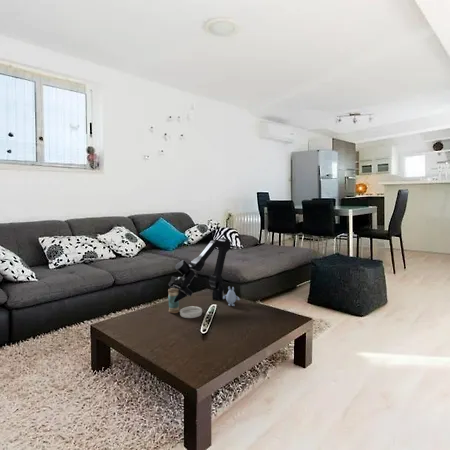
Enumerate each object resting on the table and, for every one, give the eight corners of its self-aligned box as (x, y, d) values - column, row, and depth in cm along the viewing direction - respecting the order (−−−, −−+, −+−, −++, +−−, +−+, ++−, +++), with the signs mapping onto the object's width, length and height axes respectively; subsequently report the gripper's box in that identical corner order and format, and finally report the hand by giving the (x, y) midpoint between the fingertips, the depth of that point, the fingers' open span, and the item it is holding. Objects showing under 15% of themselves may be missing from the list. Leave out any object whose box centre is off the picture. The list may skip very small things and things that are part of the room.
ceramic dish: (203, 310, 203) (203, 306, 203) (199, 318, 191) (199, 314, 190) (183, 309, 205) (183, 306, 204) (177, 317, 193) (177, 313, 192)
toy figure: (241, 304, 211) (240, 285, 210) (238, 308, 206) (238, 288, 204) (224, 303, 215) (224, 284, 213) (221, 306, 209) (221, 287, 207)
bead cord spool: (180, 309, 205) (180, 288, 203) (177, 313, 199) (177, 291, 197) (170, 309, 206) (169, 287, 204) (166, 313, 200) (166, 291, 198)
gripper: (170, 268, 209) (154, 289, 203) (187, 274, 195) (171, 297, 189) (181, 278, 215) (166, 299, 209) (199, 284, 201) (183, 307, 195)
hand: (171, 300), depth 201 cm, fingers closed on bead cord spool, 6 cm apart
